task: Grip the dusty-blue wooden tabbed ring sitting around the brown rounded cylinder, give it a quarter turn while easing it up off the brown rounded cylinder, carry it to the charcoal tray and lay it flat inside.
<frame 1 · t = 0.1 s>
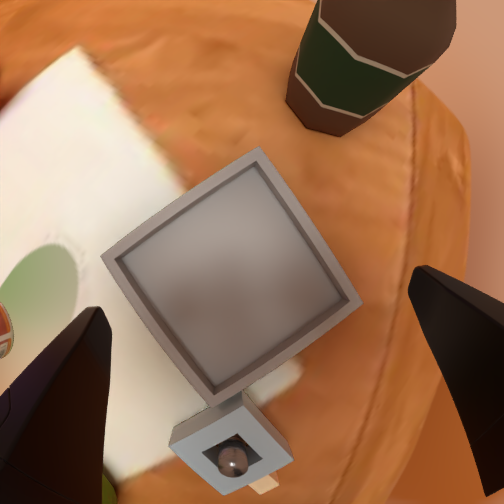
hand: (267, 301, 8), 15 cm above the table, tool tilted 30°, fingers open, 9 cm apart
beer bottle: (325, 100, 24), on the table
ring: (231, 436, 23), on the table
apple: (77, 475, 21), on the table
brown rounded cylinder: (231, 436, 23), on the table
tray: (232, 279, 23), on the table
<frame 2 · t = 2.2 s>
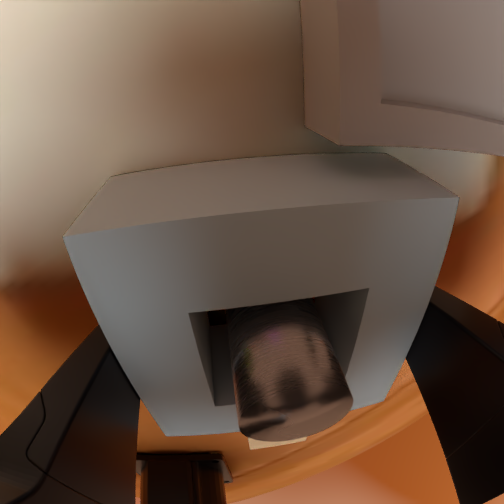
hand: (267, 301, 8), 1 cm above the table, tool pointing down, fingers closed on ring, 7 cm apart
ring: (260, 277, 9), on the table, touching gripper
brown rounded cylinder: (260, 277, 9), on the table
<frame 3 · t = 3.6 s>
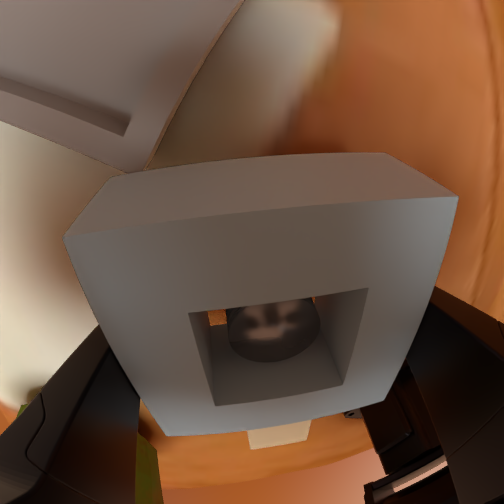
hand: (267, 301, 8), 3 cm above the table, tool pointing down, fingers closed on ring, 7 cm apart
ring: (260, 277, 9), point 2 cm above the table, touching gripper
apple: (89, 421, 17), on the table
brown rounded cylinder: (250, 239, 11), on the table
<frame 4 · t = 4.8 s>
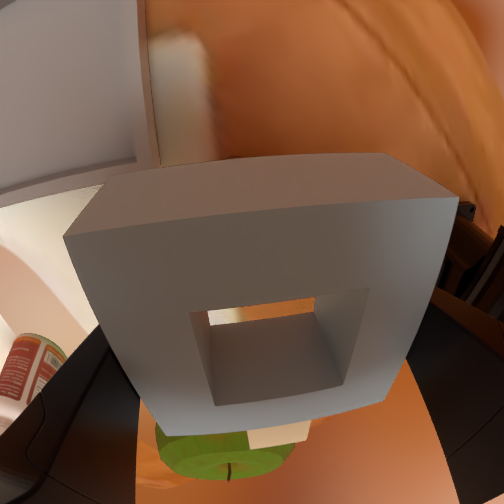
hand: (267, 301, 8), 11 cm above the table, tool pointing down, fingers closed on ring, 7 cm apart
ring: (261, 277, 9), point 10 cm above the table, touching gripper
apple: (219, 371, 27), on the table
tray: (39, 78, 12), on the table
pill bottle: (43, 351, 23), on the table
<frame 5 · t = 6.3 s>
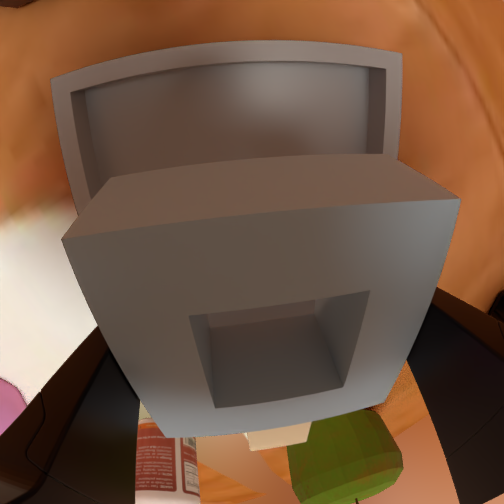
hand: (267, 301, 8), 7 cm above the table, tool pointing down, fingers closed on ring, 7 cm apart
ring: (261, 279, 9), point 6 cm above the table, touching gripper
apple: (330, 421, 29), on the table
tray: (237, 196, 14), on the table
pill bottle: (164, 427, 25), on the table
when the fingers open (3 cm above the table, at t = 7.5 s): ring drops 2 cm, resting on tray.
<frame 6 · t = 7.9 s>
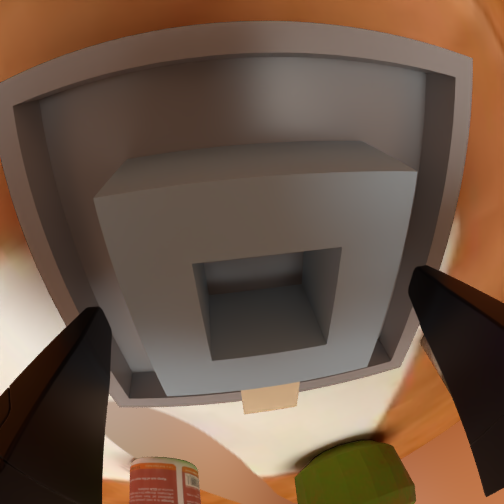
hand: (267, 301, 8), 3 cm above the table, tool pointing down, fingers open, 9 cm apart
ring: (253, 249, 10), point 1 cm above the table, touching tray
apple: (341, 452, 25), on the table
brown rounded cylinder: (435, 335, 16), on the table
tray: (250, 240, 11), on the table
pill bottle: (164, 463, 22), on the table
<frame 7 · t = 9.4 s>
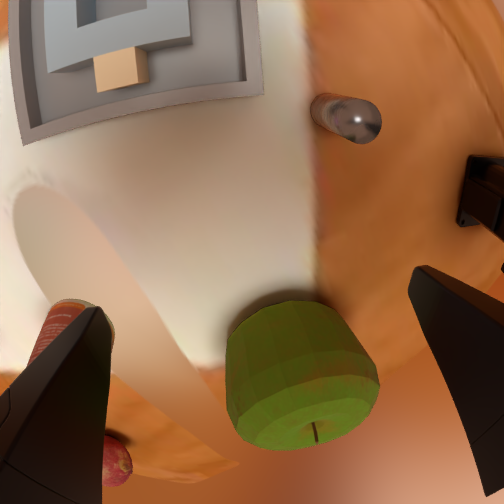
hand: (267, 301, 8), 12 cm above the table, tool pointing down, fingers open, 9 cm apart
ring: (124, 1, 11), point 1 cm above the table, touching tray
apple: (284, 331, 26), on the table
brown rounded cylinder: (327, 110, 17), on the table
tray: (126, 3, 11), on the table
fruit: (108, 435, 34), on the table
pill bottle: (83, 321, 23), on the table
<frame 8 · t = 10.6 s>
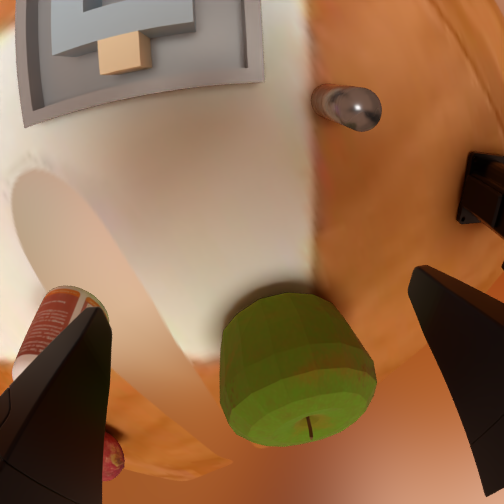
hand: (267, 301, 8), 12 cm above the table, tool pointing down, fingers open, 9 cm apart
apple: (280, 325, 26), on the table
brown rounded cylinder: (328, 100, 16), on the table
fruit: (101, 429, 34), on the table
pill bottle: (78, 310, 22), on the table
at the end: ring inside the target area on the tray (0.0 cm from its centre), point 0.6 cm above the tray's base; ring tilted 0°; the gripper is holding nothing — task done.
